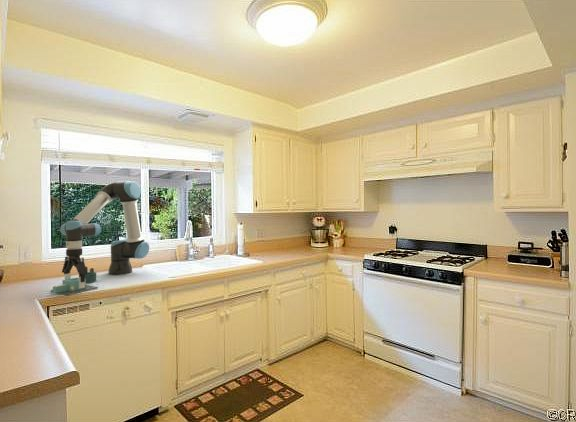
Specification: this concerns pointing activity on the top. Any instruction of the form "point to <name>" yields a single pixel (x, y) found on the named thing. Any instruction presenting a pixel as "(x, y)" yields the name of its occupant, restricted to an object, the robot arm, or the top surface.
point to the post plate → (77, 290)
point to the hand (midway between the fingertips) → (74, 286)
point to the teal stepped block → (67, 285)
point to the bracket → (90, 276)
